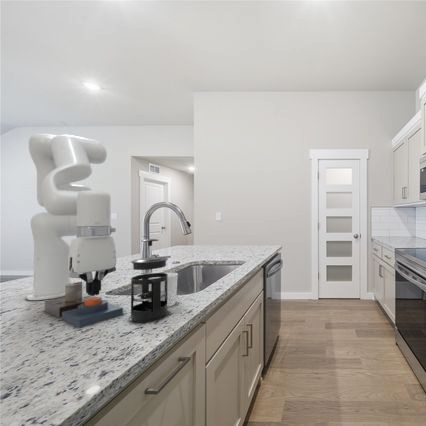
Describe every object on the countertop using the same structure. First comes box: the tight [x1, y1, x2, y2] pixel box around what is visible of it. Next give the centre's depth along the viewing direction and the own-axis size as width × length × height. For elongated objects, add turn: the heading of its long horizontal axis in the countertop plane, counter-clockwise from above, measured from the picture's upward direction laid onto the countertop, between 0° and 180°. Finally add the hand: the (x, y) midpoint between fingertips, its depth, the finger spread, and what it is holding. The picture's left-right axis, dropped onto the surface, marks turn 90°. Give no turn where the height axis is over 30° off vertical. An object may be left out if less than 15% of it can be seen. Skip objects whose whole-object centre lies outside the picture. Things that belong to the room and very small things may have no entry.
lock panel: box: [44, 292, 103, 319], centre depth 81 cm, size 12×10×3 cm
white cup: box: [151, 272, 179, 308], centre depth 85 cm, size 8×8×10 cm
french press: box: [129, 238, 169, 324], centre depth 74 cm, size 12×9×23 cm
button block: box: [61, 299, 124, 329], centre depth 75 cm, size 12×10×4 cm
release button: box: [85, 296, 102, 306], centre depth 75 cm, size 4×4×2 cm
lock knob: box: [64, 281, 83, 302], centre depth 81 cm, size 4×4×5 cm
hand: (93, 294), depth 74 cm, fingers closed
